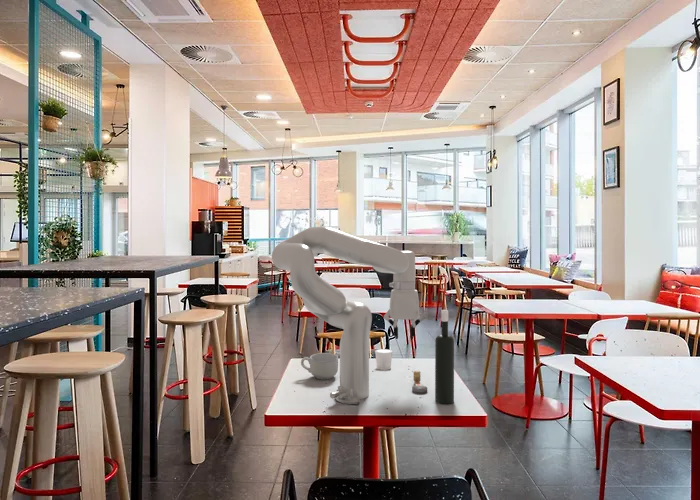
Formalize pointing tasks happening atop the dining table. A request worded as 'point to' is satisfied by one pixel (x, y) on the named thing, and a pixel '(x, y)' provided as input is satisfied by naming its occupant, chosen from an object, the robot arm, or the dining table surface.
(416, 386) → the multicoloured piece
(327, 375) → the teacup
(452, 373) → the wine bottle
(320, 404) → the dining table surface
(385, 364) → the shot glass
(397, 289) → the robot arm
